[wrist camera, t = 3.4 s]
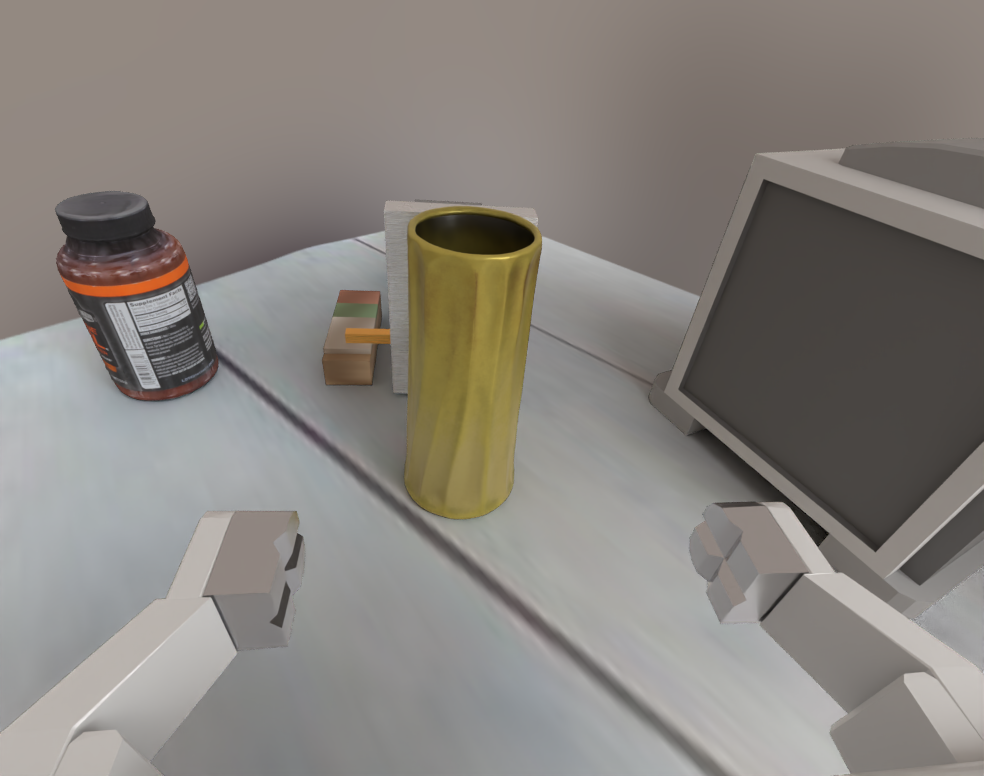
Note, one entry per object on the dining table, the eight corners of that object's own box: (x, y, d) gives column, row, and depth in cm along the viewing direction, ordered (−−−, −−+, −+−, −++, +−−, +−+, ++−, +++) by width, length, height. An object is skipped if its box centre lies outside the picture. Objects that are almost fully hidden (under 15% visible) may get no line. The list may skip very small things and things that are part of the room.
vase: (407, 438, 30) (400, 197, 21) (507, 438, 31) (541, 205, 22) (400, 522, 25) (388, 258, 17) (519, 520, 26) (568, 266, 17)
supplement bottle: (108, 368, 33) (22, 192, 26) (205, 341, 36) (152, 178, 29) (128, 418, 29) (35, 231, 22) (234, 384, 33) (181, 211, 26)
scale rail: (381, 316, 41) (380, 289, 39) (371, 384, 34) (369, 355, 32) (343, 315, 40) (340, 288, 39) (326, 384, 33) (321, 355, 32)
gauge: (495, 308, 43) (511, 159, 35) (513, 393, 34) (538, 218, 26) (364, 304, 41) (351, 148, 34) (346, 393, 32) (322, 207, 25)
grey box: (1027, 531, 29) (1427, 211, 17) (901, 629, 23) (1358, 258, 12) (763, 357, 41) (894, 103, 30) (640, 395, 36) (742, 103, 24)
